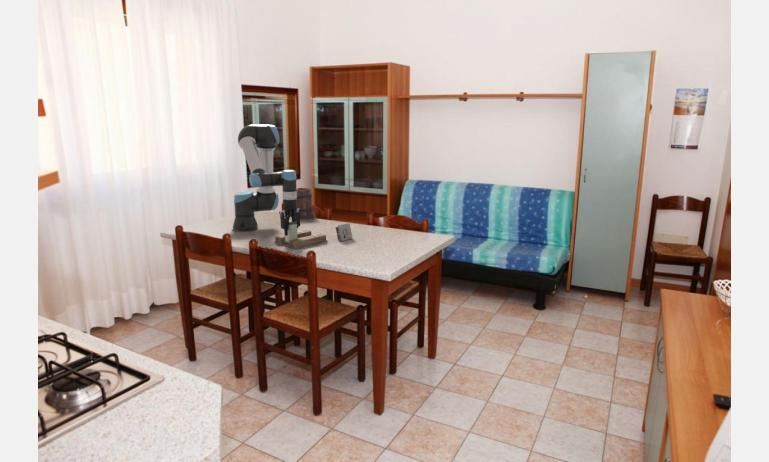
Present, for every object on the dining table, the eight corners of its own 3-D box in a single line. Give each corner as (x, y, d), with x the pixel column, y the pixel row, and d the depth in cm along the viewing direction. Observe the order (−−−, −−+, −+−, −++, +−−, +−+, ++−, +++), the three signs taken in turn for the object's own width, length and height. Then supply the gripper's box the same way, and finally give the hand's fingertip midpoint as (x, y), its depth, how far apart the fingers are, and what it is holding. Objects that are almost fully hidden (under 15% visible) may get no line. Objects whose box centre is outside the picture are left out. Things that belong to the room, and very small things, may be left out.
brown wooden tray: (274, 242, 279) (274, 235, 278) (304, 235, 295) (304, 229, 294) (296, 249, 266) (296, 241, 265) (327, 242, 282) (327, 234, 281)
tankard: (304, 213, 359) (303, 186, 354) (320, 216, 349) (320, 188, 345) (279, 218, 341) (278, 190, 336) (296, 222, 331) (295, 192, 326)
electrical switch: (341, 241, 284) (340, 225, 282) (335, 240, 287) (334, 225, 285) (352, 238, 291) (351, 223, 289) (346, 238, 294) (345, 222, 292)
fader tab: (284, 242, 276) (283, 220, 273) (290, 240, 279) (290, 219, 276) (291, 244, 272) (290, 222, 269) (297, 242, 275) (297, 221, 272)
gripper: (281, 201, 261) (282, 244, 266) (306, 197, 273) (307, 238, 279) (272, 199, 266) (274, 241, 271) (297, 196, 278) (299, 236, 283)
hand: (291, 240), depth 275 cm, fingers closed on fader tab, 4 cm apart
